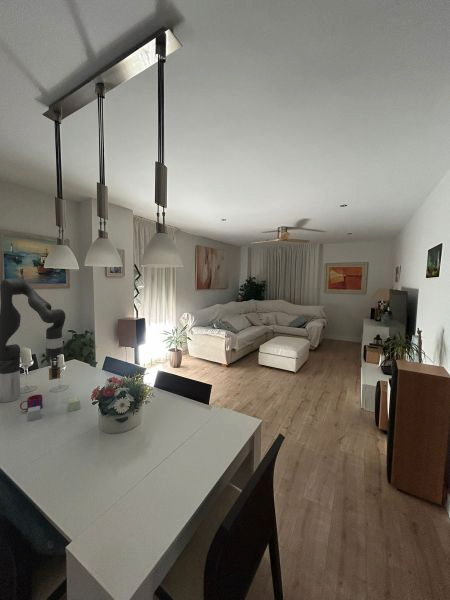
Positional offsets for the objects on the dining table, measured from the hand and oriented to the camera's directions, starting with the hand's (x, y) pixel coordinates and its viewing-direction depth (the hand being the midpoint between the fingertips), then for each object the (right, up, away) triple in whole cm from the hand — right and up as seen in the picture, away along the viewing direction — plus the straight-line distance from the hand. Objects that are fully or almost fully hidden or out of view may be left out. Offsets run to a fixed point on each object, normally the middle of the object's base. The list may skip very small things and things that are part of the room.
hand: (54, 376), depth 131 cm
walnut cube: (0, -1, 0) cm, 1 cm away
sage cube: (+7, -21, +7) cm, 23 cm away
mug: (-16, -20, +4) cm, 26 cm away
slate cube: (-8, -21, -4) cm, 23 cm away
